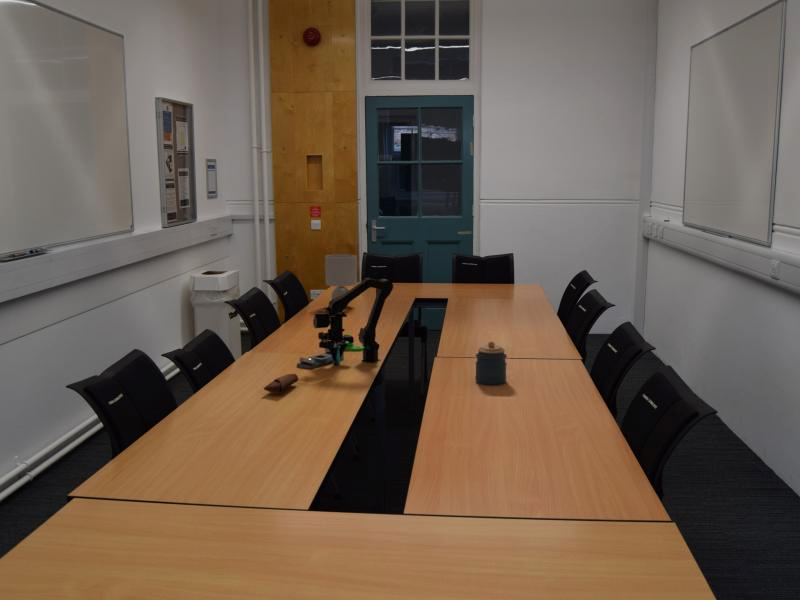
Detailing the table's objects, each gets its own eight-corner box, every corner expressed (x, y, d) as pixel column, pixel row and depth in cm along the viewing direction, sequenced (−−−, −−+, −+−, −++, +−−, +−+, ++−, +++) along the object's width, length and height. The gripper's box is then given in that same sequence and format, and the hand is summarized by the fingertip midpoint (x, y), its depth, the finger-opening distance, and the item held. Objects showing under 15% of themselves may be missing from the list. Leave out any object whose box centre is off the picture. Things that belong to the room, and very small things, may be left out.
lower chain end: (332, 362, 376) (332, 354, 375) (310, 369, 363) (310, 360, 362) (319, 360, 380) (319, 352, 380) (296, 366, 367) (296, 358, 367)
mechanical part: (338, 351, 401) (338, 335, 400) (342, 349, 406) (342, 333, 405) (361, 353, 397) (361, 337, 396) (365, 350, 403) (365, 334, 402)
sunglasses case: (279, 378, 340) (288, 366, 338) (292, 389, 340) (300, 377, 338) (262, 389, 323) (271, 377, 321) (275, 400, 322) (284, 388, 321)
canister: (474, 386, 334) (475, 344, 331) (475, 378, 346) (476, 338, 344) (506, 387, 332) (507, 345, 329) (506, 379, 345) (507, 338, 342)
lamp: (362, 311, 518) (362, 256, 513) (334, 314, 507) (334, 258, 502) (347, 307, 535) (347, 253, 529) (320, 309, 524) (319, 255, 519)
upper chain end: (343, 359, 382) (343, 348, 382) (321, 365, 369) (321, 354, 369) (330, 357, 387) (330, 346, 386) (308, 363, 374) (308, 352, 373)
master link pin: (343, 364, 372) (342, 345, 371) (337, 365, 369) (337, 346, 368) (336, 363, 375) (336, 344, 373) (330, 364, 371) (330, 345, 370)
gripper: (335, 322, 381) (336, 354, 384) (309, 328, 366) (310, 361, 369) (354, 324, 375) (354, 357, 378) (328, 330, 360) (329, 365, 362)
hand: (336, 360), depth 372 cm, fingers closed on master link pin, 3 cm apart
